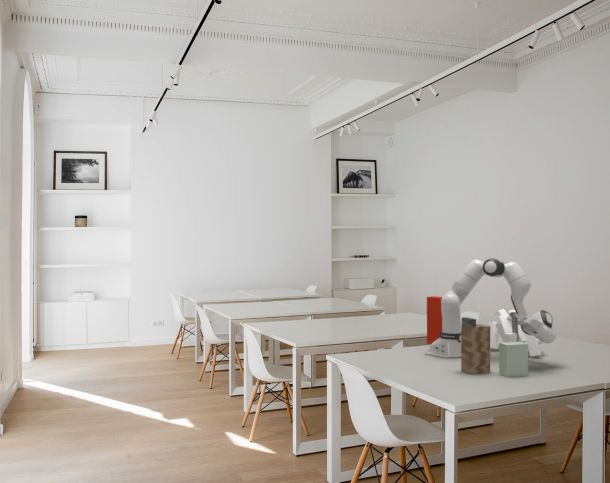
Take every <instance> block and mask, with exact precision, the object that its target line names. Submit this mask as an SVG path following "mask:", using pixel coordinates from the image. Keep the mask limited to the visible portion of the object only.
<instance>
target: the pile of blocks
mask: <svg viewBox="0 0 610 483" xmlns="http://www.w3.org/2000/svg"><path fill="white" fill-rule="evenodd" d="M511 312H516V311H515V309H510V310H509V311H508V312H507V311H506V310H505V309H504V308H502V309H499V310H497V311H496V313H495V314H494V315H495V316H496V318H498V321H499V322H498V321H495V320H493V321H490V322H488V326H490V351H496V350H499V336H500V338H501V340H502V343H504V336H503V333H509V332H512V322H511V321H510V320H508V316H509V313H511ZM518 339H519V342H522V343H526V344H528V354H529V356H530V358H535V357H540V356H542V352H541V349H540V346H539V345H542V344H543V343H544V342H542V341H540V340H538V339H537V338H535V336H532V335H528V334H525V333H524V332H523V331H522V329H521V326H520V325H518Z"/></svg>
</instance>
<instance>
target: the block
mask: <svg viewBox="0 0 610 483" xmlns="http://www.w3.org/2000/svg"><path fill="white" fill-rule="evenodd" d="M498 352H499V353H498V355H499V356H498V357H499V358H498V361H499V362H498V363H499V364H498V367H499V369H498V370H499V371H498V374H499V375H501V376H504V377H506V378H510V377H521V376H522V377H523V376H525V377H526V376H529V349H528V344H526V343H522V342H506V343H504V342H498Z"/></svg>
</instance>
